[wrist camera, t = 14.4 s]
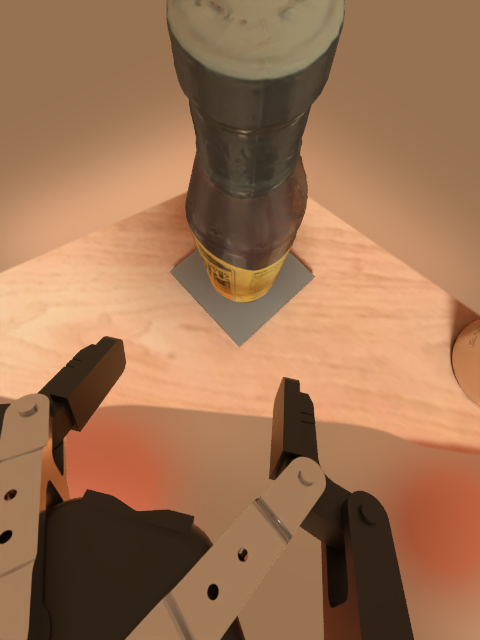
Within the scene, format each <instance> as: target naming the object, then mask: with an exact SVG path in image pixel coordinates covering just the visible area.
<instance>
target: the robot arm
mask: <svg viewBox="0 0 480 640" xmlns="http://www.w3.org/2000/svg"><path fill="white" fill-rule="evenodd" d="M452 362H453V369H454V373H455V376H456V378H457V381H458V383H459V385H460V387H461V388H462V389H463V391H464V392H465V393H466V395H467V396H468V397H469V398H470V399H471V400H472V401H473V402H475V403H476V404H477V405H479V406H480V319H478V320H476V321H474V322H472V323H470V324H469V325H468V326H466V327H465V328H464V329H463V330H462V331H461V333H460V334H459V336H458V337H457V339H456V342H455V344H454V348H453V354H452ZM125 365H126V359H125V352H124V346H123V341H122V340H121V339H117V338H112V337H108V336H105V337H103V338H102V339H101V340H100V341H99V342H98V343H97V344H96V345H94V344H91V345H89V346H87V347H86V348H84V349H82V350H80V351H79V352H78V353H77V354H76V355H75V356H74V357H73V359H72V360H70V361H69V362H68V363H67V364H66V367H63V368H62V369H61V370H60V371H59V372H58V373H57V374H56V375H55V376H54V377H53V378H52V379H51V380H50V381H49V382H48V383H47V384H46V385H45V386H44V387H43V388H42V389H41V390H40V391H39V392H38V393H37V394H30V395H26V396H23V397H21V398H19V399H17V400H16V401H14V402H13V403H12V404H0V640H245V637H244V634H243V631H242V628H241V625H240V622H239V619H238V614H239V612H240V611H241V609H242V608H243V607H244V605H245V603H246V602H247V601H248V599H249V598H250V597H251V595H252V594H253V592H254V591H255V590H256V588H257V587H258V585H259V584H260V582H261V581H262V580H263V578H264V577H265V575H266V574H267V572H268V571H269V569H270V568H271V567H272V565H273V564H274V563H275V561H276V560H277V558H278V557H279V555H280V554H281V552H282V551H283V549H284V548H285V547H286V545H287V544H288V542H289V541H290V539H291V537H292V536H293V534H294V533H295V531H296V530H297V529H298V527H299V526H300V527H302V528H303V529H304V530H306V531H307V532H309V533H310V534H312V535H313V536H314V537H316V538H317V539H319V540H320V541H321V549H322V584H323V615H324V616H323V618H324V640H414V637H413V633H412V628H411V623H410V618H409V614H408V609H407V604H406V599H405V595H404V590H403V585H402V580H401V576H400V571H399V566H398V562H397V557H396V552H395V548H394V542H393V538H392V533H391V528H390V523H389V519H388V516H387V513H386V511H385V510H384V507H383V506H382V505H381V503H380V502H379V501H378V500H377V499H376V498H375V497H374V496H372V495H371V494H369V493H367V492H364V491H356V492H354V493H350V492H349V491H347V490H345V489H344V488H342V487H340V486H339V485H337V484H335V483H334V482H332V481H331V480H330V479H329V478H328V477H327V476H326V475H325V473H324V472H323V470H322V469H321V467H320V464H319V461H318V453H317V441H316V430H315V417H314V406H313V403H312V401H311V399H310V397H309V395H308V394H306V393H301V392H300V383H299V380H295V379H291V378H286V377H283V379H282V381H281V384H280V387H279V389H278V392H277V395H276V398H275V402H274V409H273V426H272V440H271V456H270V457H271V458H270V472H269V479H272V480H275V481H274V482H273V483H272V484H271V485H270V486H269V488H268V489H267V490H266V491H265V492H264V493H263V494H262V495H261V496H260V498H258V499H256V500H254V501H253V502H252V503H251V504H250V505H249V506H248V507H247V509H246V510H245V511H244V512H243V513H242V514H241V515H240V516H239V517H238V518H237V520H236V521H235V522H234V523H233V524H232V525H231V526H230V527H229V528H228V529H227V531H226V532H225V533H224V534H223V535H222V536H221V537H220V538H219V540H217V542H216V543H215V544H214V545H213V544H212V542H211V540H210V539H209V537H208V536H207V535H206V534H205V532H204V531H202V530H201V529H200V528H199V527H198V526H196V525H195V524H193V523H194V516H190V515H187V514H183V513H179V512H175V511H171V510H153V511H135V510H133V509H132V508H131V507H129V506H128V505H126V504H125V503H123V502H122V501H120V500H119V499H117V498H115V497H114V496H111V495H108V494H104V493H100V492H96V491H92V490H88V489H87V491H86V492H85V494H84V496H83V497H79V498H74V499H70V493H69V488H68V483H67V456H66V435H67V434H68V432H69V431H70V430H75V431H79V432H80V431H81V430H82V429H83V427H84V426H85V424H86V423H87V422H88V420H89V419H90V417H91V416H92V415H93V413H94V412H95V411H96V409H97V408H98V406H99V405H100V404H101V402H102V401H103V400H104V398H105V397H106V395H107V394H108V393H109V391H110V390H111V388H112V387H113V386H114V384H115V383H116V381H117V380H118V379H119V377H120V376H121V375H122V373H123V371H124V369H125Z"/></svg>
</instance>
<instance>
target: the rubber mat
mask: <svg viewBox="0 0 480 640" xmlns="http://www.w3.org/2000/svg"><path fill="white" fill-rule="evenodd" d="M170 272H171V273H172V275H173V276H174V277H175V278H176V279H177V280H178V281H179V282H180V283H181V284H182V286H183V287H184V288H185V289H186V290H187V291H188V292H189V293H190V294H191V295H192V296H193V297H194V299H195V300H196V301H197V302H198V303H199V304H200V305H201V306H202V307H203V308H204V309H205V310H206V312H207V313H208V314H209V315H210V316H211V317H212V318H213V319H214V320H215V321H216V322H217V323H218V325H219V326H220V327H221V328H222V329H223V330H224V331H225V332H226V333H227V334H228V335H229V336H230V338H231V339H232V340H233V341H234V342H235V343H236V344H237V345H238V346H239V347H240V346H241V345H242V344H244V343H245V342H246V341H247V340H248V339H249V338H250V337H251V336H252V335H253V334H254V333H255V332H256V331H257V330H259V329H260V328H261V327H262V326H263V325H264V324H265V323H266V322H267V321H268V320H269V319H270V318H271V317H273V316H274V315H275V314H276V313H277V312H278V311H279V310H280V309H281V308H282V307H283V306H284V305H285V304H287V303H288V302H289V301H290V300H291V299H292V298H293V297H294V296H295V295H296V294H297V293H298V292H299V291H301V290H302V289H303V288H304V287H305V286H306V285H307V284H308V283H309V282H310V281H311V280H312V279H313V278H314V277H315V276H314V275H313V274H312V273H311V272H310V271H309V270H308V269H307V268H306V267H305V266H304V265H303V264H302V263H301V262H300V261H299V260H298V259H297V258H296V257H295V256H294V255H293V254H291V253H290V252H288V254H287V256H286V258H285V260H284V262H283V264H282V266H281V269H280V271H279V273H278V275H277V277H276V279H275V281H274V283H273V285H272V286H271V288H270V289H269V290H268V292H267V293H266V294H265V295H264V296H262V297H260V298H258V299H256V300H254V301H252V302H248V303H241V302H235V301H231V300H227V299H226V298H224V297H223V296H222V295H221V294H219V293H218V292H217V291H216V289H215V288H214V287H213V285H212V283H211V281H210V278H209V275H208V273H207V270H206V268H205V265H204V263H203V260H202V258H201V255H200V253H199V250H198V248H197V249H196V250H195V251H194V252H192V253H191V254H190V255H189V256H188V257H187V258H185V259H184V260H183V261H182V262H181V263H179V264H178V265H177V266H176V267H175V268H174V269H172V270H171V271H170Z"/></svg>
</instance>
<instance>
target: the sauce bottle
mask: <svg viewBox="0 0 480 640" xmlns="http://www.w3.org/2000/svg"><path fill="white" fill-rule="evenodd" d="M344 1H345V0H167V25H168V31H169V35H170V40H171V45H172V53H173V57H174V66H175V69H176V73H177V77H178V81H179V83H180V86H181V88H182V90H183V92H184V94H185V95H186V96H187V97H188V99H189V106H190V112H191V116H192V120H193V124H194V129H195V134H196V149H197V151H196V156H195V160H194V165H193V169H192V174H191V179H190V183H189V188H188V193H187V198H186V206H185V208H186V217H187V220H188V224H189V226H190V229H191V232H192V234H193V237H194V239H195V242H196V244H197V247H198V250H199V253H200V255H201V258H202V260H203V263H204V265H205V268H206V270H207V273H208V275H209V278H210V281H211V283H212V285H213V287H214V288H215V289H216V291H217V292H218V293H219V294H221V295H222V296H223V297H224V298H226V299H227V300H231V301H235V302H241V303H248V302H252V301H254V300H256V299H258V298H260V297H262V296H264V295H265V294H266V293H267V292H268V290H269V289H270V288H271V286H272V285H273V283H274V281H275V279H276V277H277V275H278V273H279V271H280V269H281V266H282V264H283V262H284V260H285V258H286V256H287V254H288V252H289V250H290V248H291V246H292V244H293V242H294V240H295V237H296V234H297V230H298V228H299V226H300V224H301V222H302V219H303V216H304V214H305V210H306V205H307V198H308V196H307V191H308V189H307V181H306V173H305V170H304V167H303V163H302V157H301V156H300V149H301V145H302V136H303V133H304V129H305V126H306V123H307V119H308V115H309V111H310V108H311V105H312V104H313V102H314V101H315V100H316V99H317V98H318V96H319V95H320V94H321V92H322V90H323V88H324V86H325V84H326V82H327V80H328V77H329V73H330V70H331V66H332V63H333V59H334V56H335V52H336V48H337V45H338V41H339V37H340V34H341V31H342V28H343V21H344V14H345V11H344Z"/></svg>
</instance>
